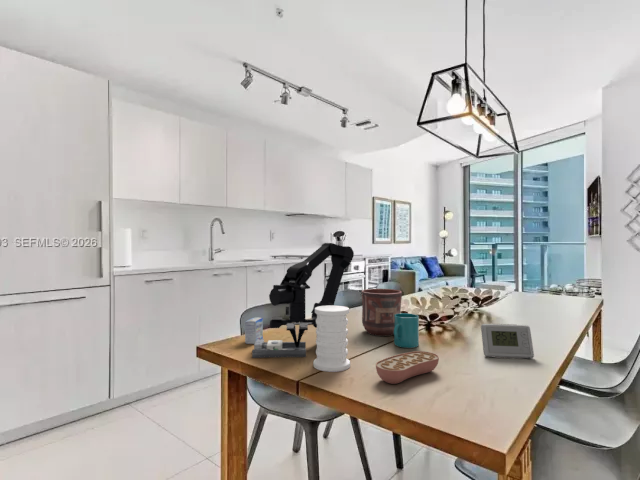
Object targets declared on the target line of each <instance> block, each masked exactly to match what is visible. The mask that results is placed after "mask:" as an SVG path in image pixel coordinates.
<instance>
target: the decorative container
mask: <svg viewBox="0 0 640 480" xmlns="http://www.w3.org/2000/svg"><path fill="white" fill-rule="evenodd" d="M315 313H316V314H317V319H316V324H317V328H316V329H315V335H316V339H315V345H316V349H315V354H316V358H315V359H314V360H313V363H312V364H313V365H312V366H313V367H314V369H317V370H318V371H322V372H330V373H336V372H337V373H338V372H343V371H346V370H348V369H349V368H350V367H351V361H350V359H348V358H347V356H348V354H349V351H348V350H349V349H348V348H347V346H348V345H349V344H348V343H349V340H348V338H347V336H348V334H349V329H348V328H347V325H348V323H349V321H348V318H347V315H348V314H349V313H350V308H349V307H348V306H344V305H335V304H334V305H328V306H319V307H315Z"/></svg>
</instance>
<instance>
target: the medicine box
mask: <svg viewBox="0 0 640 480" xmlns="http://www.w3.org/2000/svg"><path fill="white" fill-rule="evenodd" d="M263 322H264V318H263V317H258V316H257V317H255V316H254V317H252V318H249V319H248V320H246V321H244V340H245V341H244V342H245V344H247V345H254V344H255V342H256V340H257V339H264V336H263V335H264V333H263V331H264V326H263V325H264V323H263Z"/></svg>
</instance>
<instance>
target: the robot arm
mask: <svg viewBox="0 0 640 480" xmlns="http://www.w3.org/2000/svg"><path fill="white" fill-rule="evenodd" d="M354 252H355V251H354V250H353V248H352V247H351V246H348V245H346V246H343V245H339V244H335V243H334V242H324V243H322V244H321V246H320V247H318V249H316V250H315V251H313V253H311V254H310V255H309V256H307V258H305V260H303V261H300V262H297V263H295V264H293V265H291V266H289V267H288V268H287V269H286V273H285V275H284V277H283V279H282V280H281V282H280V284H273V285H272V287H273V288H272V289H271V290H270V292H269V294H268V297H269V298H268V299H269V302H270V304H271V305H272V306H281V305H288V306H285V317H288V319H283V317H282V316H273V317H271V319H270V320H269V328H270V329H280V327H282V326H285V327H286V331H289V333H290V334H291V336H292V339H293V342H294V343H295V346H296V347H298V346H299V343H300V342H301V340H302V337H303V335H304V333H305V332H306V331H308V330H309V327H308V326H313V327H314V328H316V329H317V324H316V319H317V314H316V313H315V307H319V306H328V305H334V306H335V302H336V298H337V295H338V292H339V288H340V285H341V282H342V279H343V276H344V273H345V272H344V271H345V270H346V268H347V267H349V266H350V265H351V263H352V261H353V259H354V256H355V253H354ZM329 256H330V259H331V261H330V262H331V265H332V266H331V269H330V273H329V274H328V277H327V282H326V284H325V288H324V291H323V294H322V298H321V300H320V301H319V302H315V303H313V308H312V310H311V318H310V319H309V318H308V319H306V290H309V289H311V287H310V285H308V283H307V282H308V280H309V279H310V278H311V277H312V275H313V271H314V270H315V269H316V268H317V267H318V266H320V265H321V264H322V263H323V262H324V261H326V259H327V258H329ZM296 326H298V333H297V329H296Z"/></svg>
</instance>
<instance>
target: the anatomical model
mask: <svg viewBox="0 0 640 480" xmlns="http://www.w3.org/2000/svg"><path fill="white" fill-rule="evenodd" d="M439 358H440V356H439V355H438V354H437V353H434V352H429V351H422V350H420V351H419V350H417V351H415V350H414V351H408V352H405V353H404V352H403V353H399V354H395V355H392V356H388V357H386V358H383V359H380V360H379V361H377V362H376V363H375V369H376V373H377V375H378V376H379V378H380V379H381V380H382V381H383V382H385V383H388V384H392V385H396V384H397V385H398V384H399V383H402V382H403V381H406V380H408V379H410V378H412V377H415V376H419V375H424V374H428V373H431V372H432V371H434V370H435V369H436V368H437V366H438V364H439V360H440V359H439Z"/></svg>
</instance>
